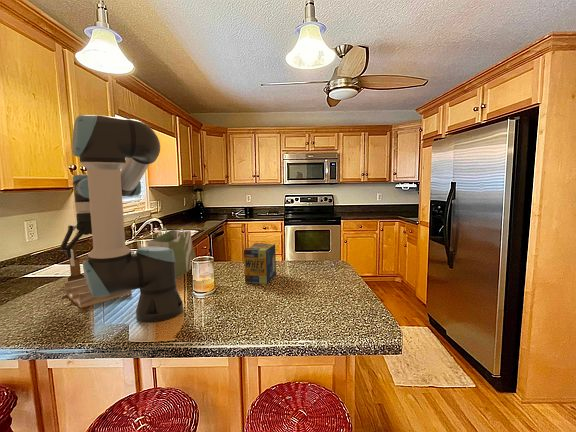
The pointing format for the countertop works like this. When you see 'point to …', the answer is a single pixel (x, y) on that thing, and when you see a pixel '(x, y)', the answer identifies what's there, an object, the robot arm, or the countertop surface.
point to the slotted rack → (86, 293)
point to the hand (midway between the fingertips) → (91, 262)
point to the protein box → (259, 263)
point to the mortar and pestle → (75, 267)
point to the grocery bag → (177, 248)
